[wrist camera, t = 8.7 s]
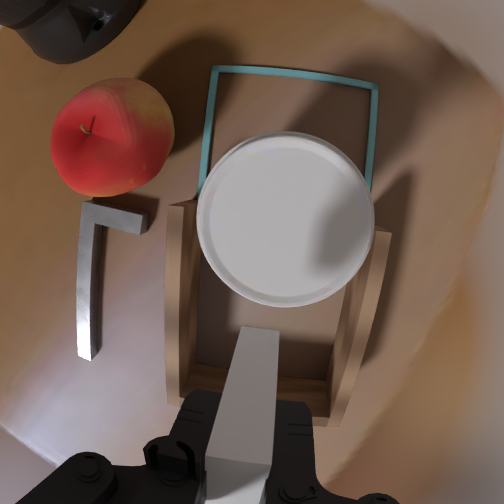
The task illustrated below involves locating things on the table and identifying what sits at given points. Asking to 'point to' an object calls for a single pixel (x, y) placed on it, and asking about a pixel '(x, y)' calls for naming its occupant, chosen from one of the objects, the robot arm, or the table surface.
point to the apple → (112, 137)
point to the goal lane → (287, 73)
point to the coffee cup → (285, 219)
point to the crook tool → (97, 263)
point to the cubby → (291, 389)
